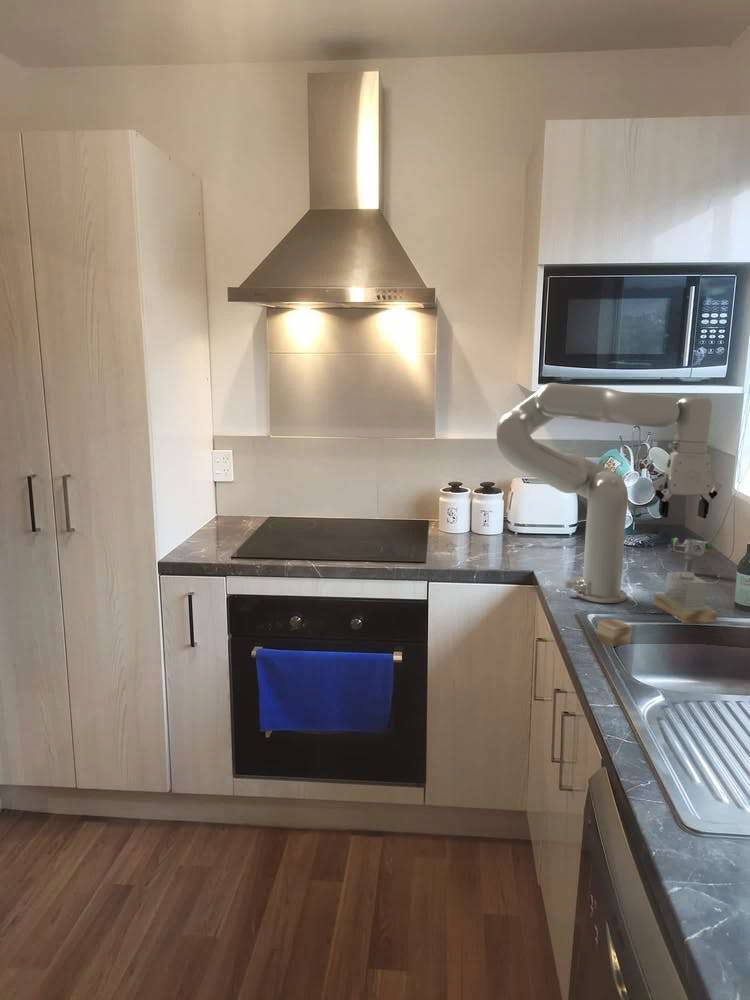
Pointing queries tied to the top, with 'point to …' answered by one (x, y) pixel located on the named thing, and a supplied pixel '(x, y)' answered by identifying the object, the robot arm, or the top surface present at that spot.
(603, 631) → the ash block
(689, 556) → the mechanical component
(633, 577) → the top surface
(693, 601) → the housing
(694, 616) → the wooden block
